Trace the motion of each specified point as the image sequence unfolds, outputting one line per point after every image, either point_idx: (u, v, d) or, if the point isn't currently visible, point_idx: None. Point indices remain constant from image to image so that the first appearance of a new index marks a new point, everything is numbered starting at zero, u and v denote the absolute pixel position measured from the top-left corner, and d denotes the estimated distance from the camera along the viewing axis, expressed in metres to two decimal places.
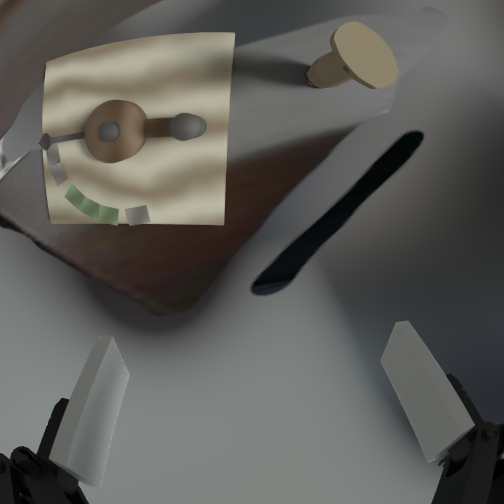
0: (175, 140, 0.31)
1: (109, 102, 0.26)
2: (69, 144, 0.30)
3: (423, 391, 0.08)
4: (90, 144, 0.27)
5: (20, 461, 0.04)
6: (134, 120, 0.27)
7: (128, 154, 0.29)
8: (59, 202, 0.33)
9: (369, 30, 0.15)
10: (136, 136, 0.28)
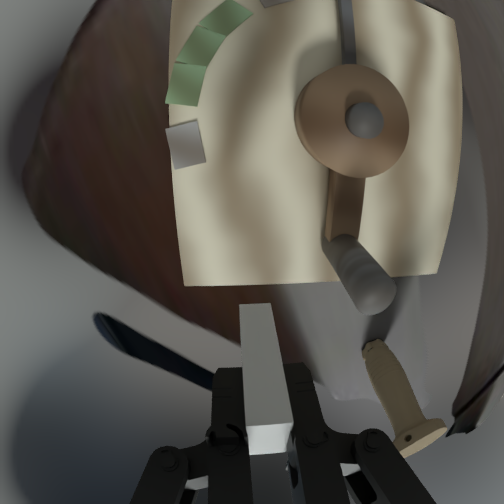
0: (318, 212, 0.21)
1: (406, 123, 0.15)
2: (329, 20, 0.14)
3: None
4: (343, 72, 0.14)
5: (222, 436, 0.06)
6: (372, 165, 0.17)
7: (316, 150, 0.16)
8: None
9: (436, 438, 0.17)
10: (346, 167, 0.17)
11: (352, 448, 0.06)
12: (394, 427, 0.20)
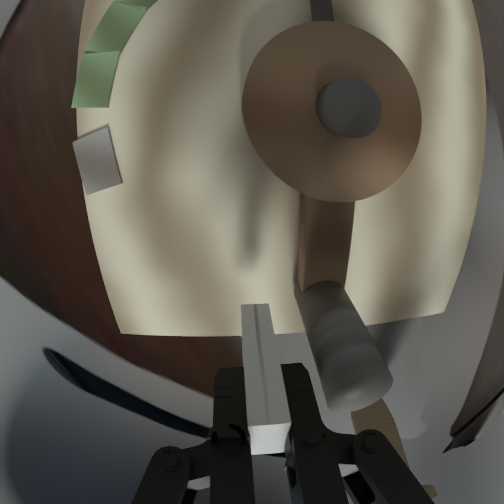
0: (283, 247, 0.15)
1: (416, 111, 0.09)
2: None
3: None
4: (310, 34, 0.08)
5: (225, 436, 0.06)
6: (365, 181, 0.11)
7: (270, 162, 0.10)
8: None
9: None
10: (322, 187, 0.11)
11: (350, 449, 0.06)
12: None
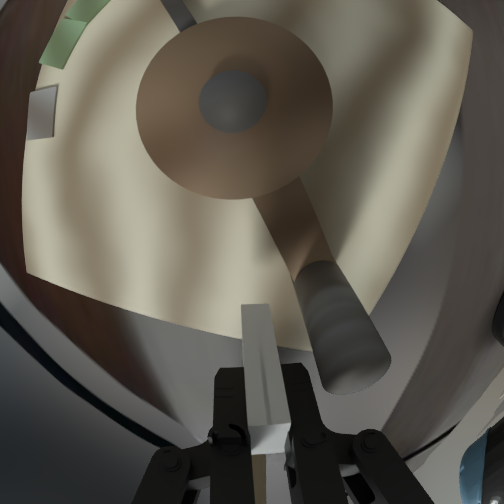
0: (166, 232, 0.15)
1: (312, 61, 0.09)
2: None
3: None
4: (169, 56, 0.08)
5: (225, 436, 0.06)
6: (291, 158, 0.11)
7: (192, 187, 0.11)
8: None
9: None
10: (250, 185, 0.11)
11: (350, 449, 0.06)
12: None
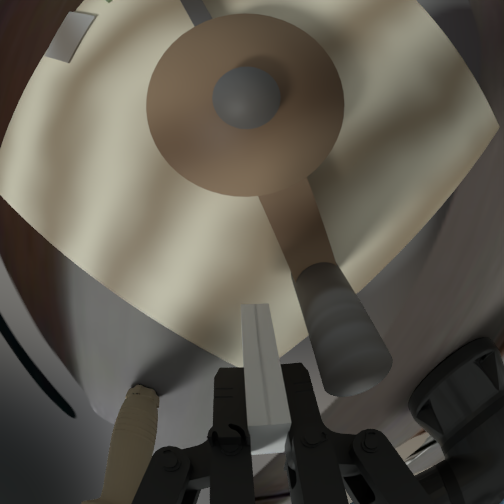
0: (131, 196, 0.14)
1: (326, 63, 0.09)
2: None
3: None
4: (183, 49, 0.08)
5: (224, 436, 0.06)
6: (300, 158, 0.11)
7: (200, 181, 0.11)
8: None
9: None
10: (258, 183, 0.11)
11: (350, 449, 0.06)
12: (103, 488, 0.12)
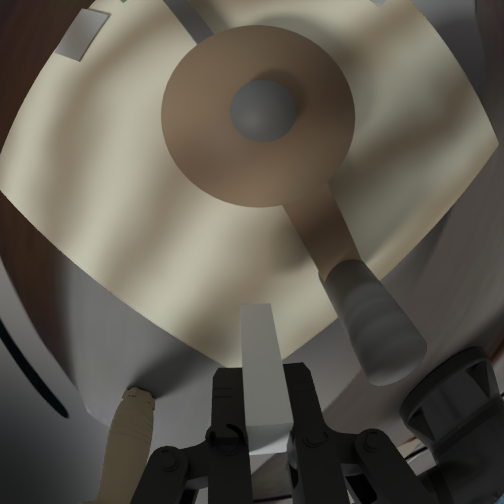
0: (138, 201, 0.14)
1: (333, 67, 0.09)
2: (347, 13, 0.10)
3: None
4: (191, 66, 0.09)
5: (222, 436, 0.06)
6: (320, 164, 0.11)
7: (225, 197, 0.11)
8: None
9: None
10: (282, 192, 0.11)
11: (352, 449, 0.06)
12: (99, 490, 0.12)
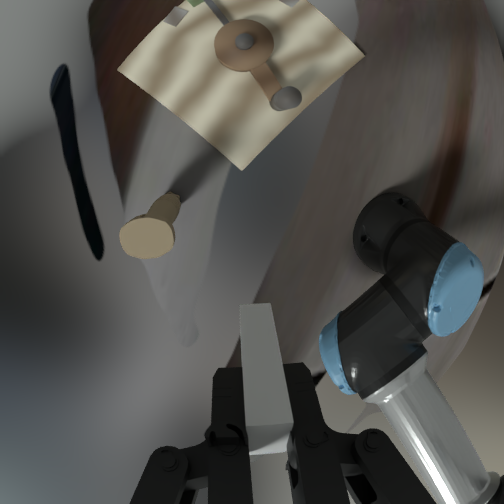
0: (197, 75, 0.33)
1: (266, 30, 0.28)
2: (277, 12, 0.28)
3: None
4: (223, 30, 0.27)
5: (222, 436, 0.06)
6: (262, 56, 0.29)
7: (233, 65, 0.30)
8: None
9: (162, 252, 0.30)
10: (251, 64, 0.30)
11: (352, 449, 0.06)
12: None
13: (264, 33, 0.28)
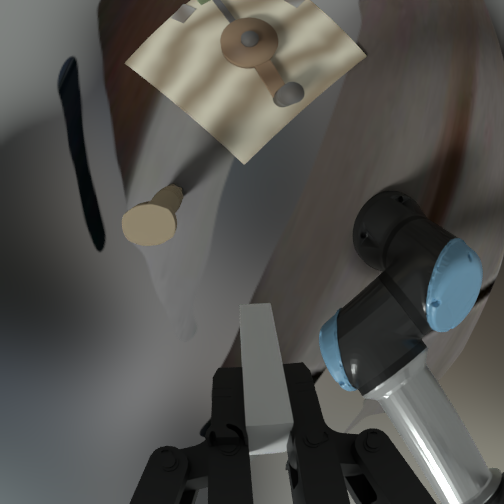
0: (203, 71, 0.33)
1: (271, 28, 0.28)
2: (283, 12, 0.29)
3: None
4: (230, 27, 0.28)
5: (222, 436, 0.06)
6: (267, 53, 0.30)
7: (238, 61, 0.30)
8: None
9: (163, 240, 0.30)
10: (255, 60, 0.31)
11: (352, 449, 0.06)
12: None
13: (269, 31, 0.29)
